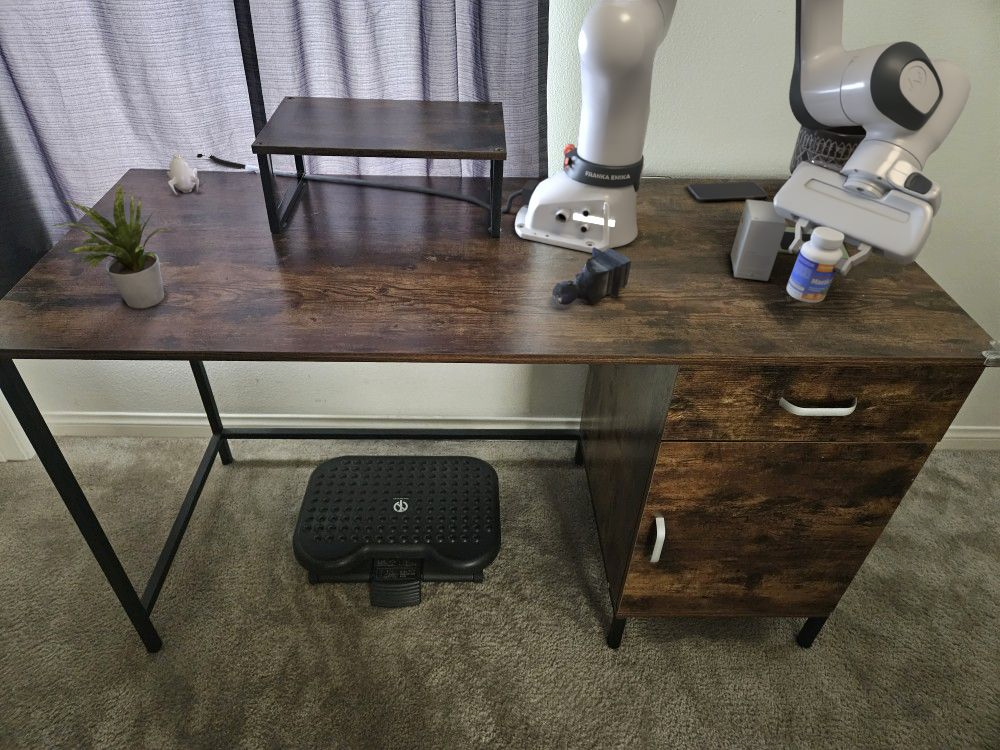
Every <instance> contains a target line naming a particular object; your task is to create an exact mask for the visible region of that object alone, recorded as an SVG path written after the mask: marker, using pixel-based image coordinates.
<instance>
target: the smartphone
mask: <svg viewBox="0 0 1000 750" xmlns="http://www.w3.org/2000/svg"><path fill="white" fill-rule="evenodd" d="M687 190H688V191H689V192H690V193H691V195H692V196H693V197H694V199H696V201H698V202H703V203H708V202H727V201H746V200H765V199H767V198H768V196H769V194H768V192H766V190H764V189H763V188H762V187H761V186H760V184H758V183H757V182H756V181H752V180H749V181H729V182H728V181H727V182H725V181H724V182H709V183H708V182H707V183H690V184H688V186H687Z"/></svg>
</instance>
